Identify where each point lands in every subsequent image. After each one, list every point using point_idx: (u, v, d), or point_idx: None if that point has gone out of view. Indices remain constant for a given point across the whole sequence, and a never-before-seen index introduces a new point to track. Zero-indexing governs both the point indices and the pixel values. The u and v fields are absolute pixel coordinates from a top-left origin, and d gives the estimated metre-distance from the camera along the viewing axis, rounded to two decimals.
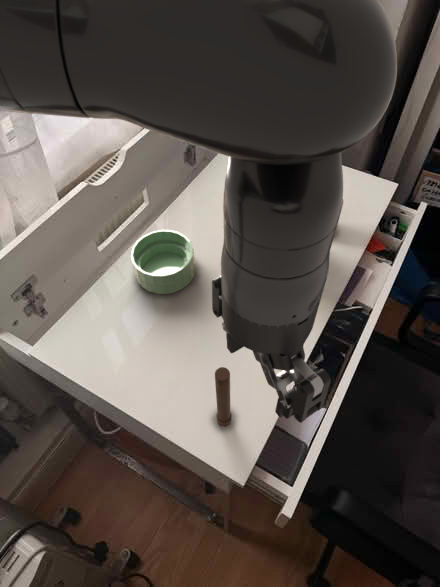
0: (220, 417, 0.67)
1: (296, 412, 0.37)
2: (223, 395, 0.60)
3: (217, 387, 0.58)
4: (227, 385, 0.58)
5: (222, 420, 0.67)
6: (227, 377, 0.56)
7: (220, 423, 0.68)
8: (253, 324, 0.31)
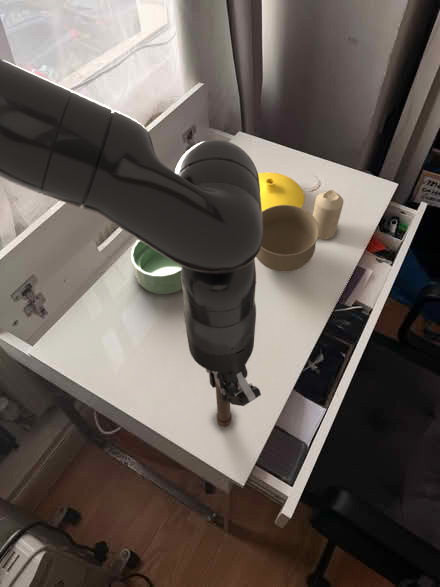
0: (220, 417, 0.67)
1: (230, 399, 0.54)
2: None
3: (217, 387, 0.58)
4: None
5: (222, 420, 0.67)
6: None
7: (220, 423, 0.68)
8: (206, 353, 0.45)
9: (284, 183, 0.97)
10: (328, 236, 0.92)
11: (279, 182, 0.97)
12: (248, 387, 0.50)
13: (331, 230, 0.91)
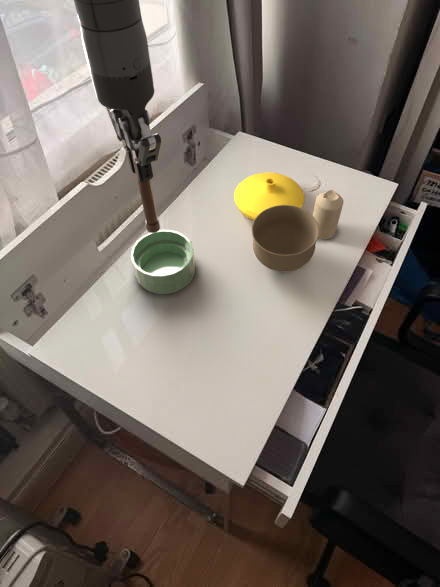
0: (147, 218, 0.73)
1: (139, 159, 0.60)
2: None
3: (134, 165, 0.65)
4: None
5: (149, 222, 0.74)
6: None
7: (148, 227, 0.74)
8: (103, 78, 0.51)
9: (284, 183, 0.97)
10: (328, 236, 0.92)
11: (279, 182, 0.97)
12: (149, 132, 0.56)
13: (331, 230, 0.91)
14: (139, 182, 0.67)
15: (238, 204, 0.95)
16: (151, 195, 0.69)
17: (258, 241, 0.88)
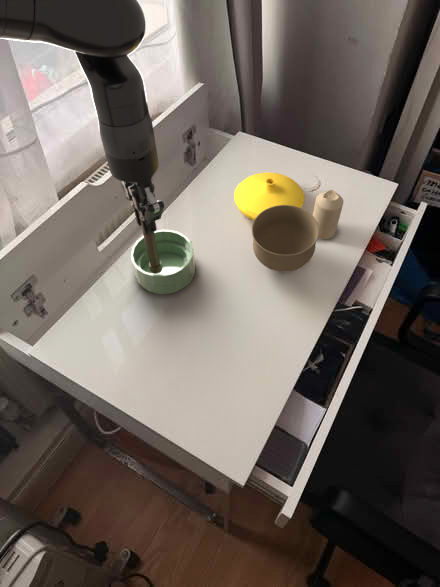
0: (150, 261, 0.83)
1: (145, 219, 0.70)
2: None
3: (140, 220, 0.75)
4: None
5: (153, 265, 0.84)
6: None
7: (152, 269, 0.85)
8: (116, 159, 0.61)
9: (284, 183, 0.97)
10: (328, 236, 0.92)
11: (279, 182, 0.97)
12: (154, 199, 0.66)
13: (331, 230, 0.91)
14: (144, 234, 0.77)
15: (238, 204, 0.95)
16: (154, 243, 0.80)
17: (258, 241, 0.88)
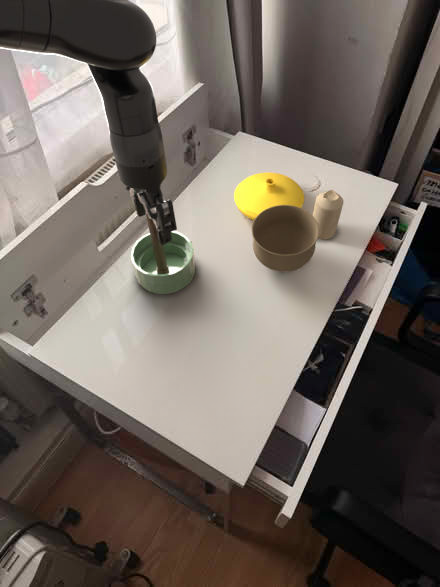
0: (158, 265, 0.85)
1: (161, 229, 0.70)
2: (154, 234, 0.78)
3: (149, 225, 0.76)
4: None
5: (160, 269, 0.85)
6: None
7: (159, 272, 0.86)
8: (126, 167, 0.63)
9: (284, 183, 0.97)
10: (328, 236, 0.92)
11: (279, 182, 0.97)
12: (162, 199, 0.67)
13: (331, 230, 0.91)
14: (152, 238, 0.79)
15: (238, 204, 0.95)
16: (162, 248, 0.81)
17: (258, 241, 0.88)
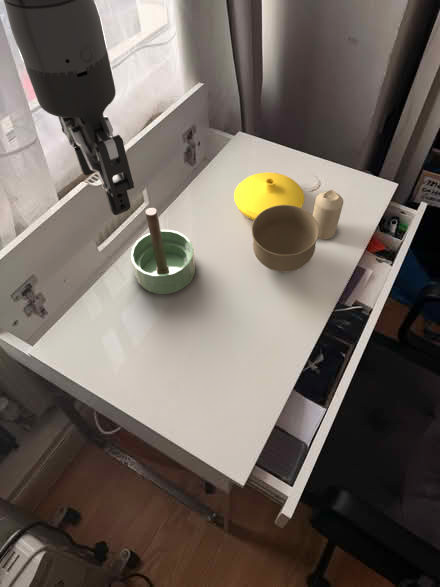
0: (158, 265, 0.85)
1: (108, 185, 0.44)
2: (154, 234, 0.78)
3: (149, 225, 0.76)
4: (156, 222, 0.76)
5: (160, 269, 0.85)
6: (154, 213, 0.74)
7: (159, 272, 0.86)
8: (40, 74, 0.37)
9: (284, 183, 0.97)
10: (328, 236, 0.92)
11: (279, 182, 0.97)
12: (106, 135, 0.41)
13: (331, 230, 0.91)
14: (152, 238, 0.79)
15: (238, 204, 0.95)
16: (162, 248, 0.81)
17: (258, 241, 0.88)
